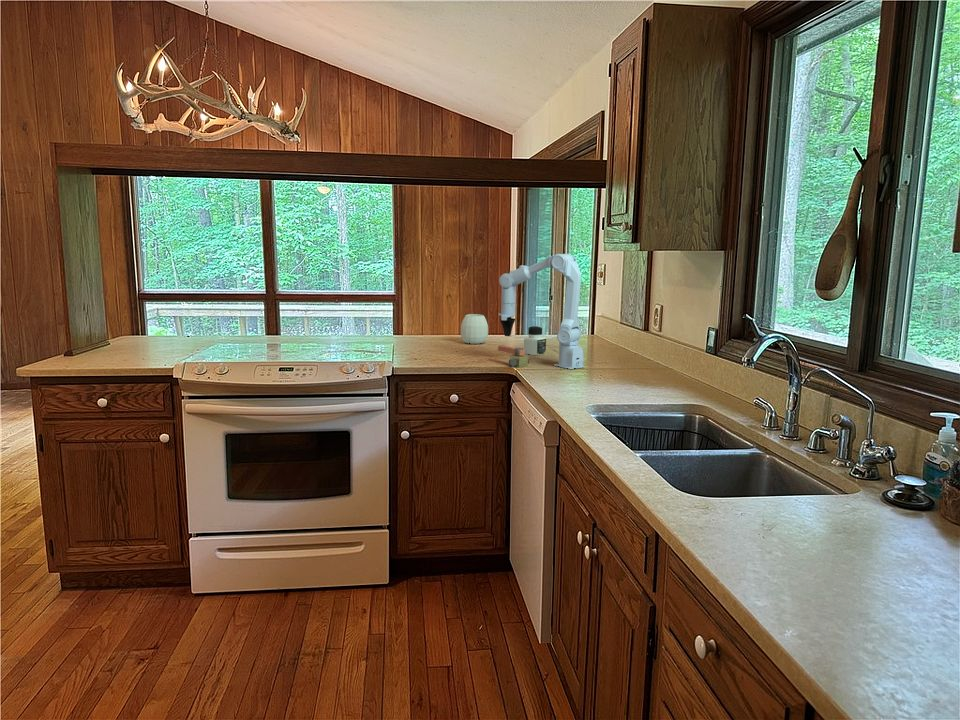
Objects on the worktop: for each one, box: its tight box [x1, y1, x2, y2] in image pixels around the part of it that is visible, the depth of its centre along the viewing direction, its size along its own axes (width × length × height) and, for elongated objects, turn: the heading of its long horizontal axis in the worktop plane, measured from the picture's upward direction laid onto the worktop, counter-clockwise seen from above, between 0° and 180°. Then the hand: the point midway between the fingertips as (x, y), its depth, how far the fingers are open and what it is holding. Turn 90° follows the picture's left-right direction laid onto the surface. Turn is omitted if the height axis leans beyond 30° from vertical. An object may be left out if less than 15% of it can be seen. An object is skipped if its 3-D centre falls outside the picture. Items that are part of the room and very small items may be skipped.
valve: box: [507, 354, 530, 369], centre depth 268 cm, size 6×8×4 cm
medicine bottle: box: [523, 325, 547, 356], centre depth 296 cm, size 7×7×12 cm
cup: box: [460, 313, 489, 345], centre depth 324 cm, size 13×13×14 cm
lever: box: [497, 345, 526, 356], centre depth 271 cm, size 14×3×2 cm, turn 35°
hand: (507, 336), depth 281 cm, fingers closed
